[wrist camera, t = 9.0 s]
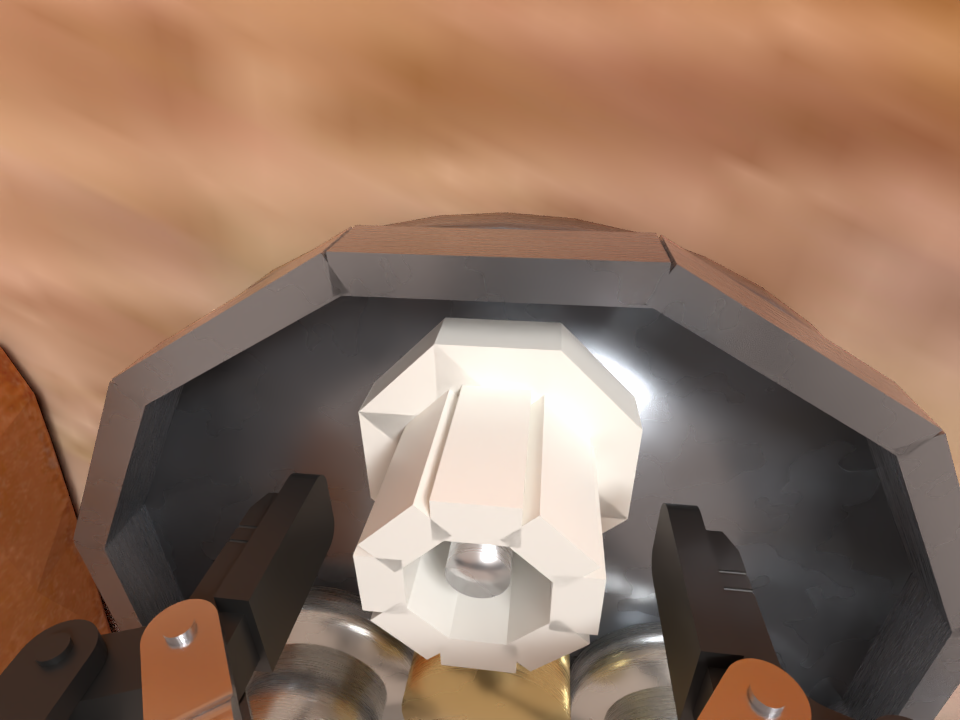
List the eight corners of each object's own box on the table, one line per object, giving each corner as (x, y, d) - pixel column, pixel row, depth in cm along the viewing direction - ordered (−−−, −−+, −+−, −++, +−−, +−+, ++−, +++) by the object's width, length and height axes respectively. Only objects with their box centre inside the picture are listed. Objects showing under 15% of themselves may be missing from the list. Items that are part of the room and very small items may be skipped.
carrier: (783, 790, 26) (850, 1014, 20) (243, 719, 29) (161, 895, 23) (1086, 225, 13) (1555, 384, 7) (37, 201, 16) (-284, 297, 10)
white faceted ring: (646, 326, 14) (692, 472, 9) (614, 533, 17) (635, 715, 13) (366, 313, 15) (273, 442, 10) (390, 513, 18) (331, 679, 13)
